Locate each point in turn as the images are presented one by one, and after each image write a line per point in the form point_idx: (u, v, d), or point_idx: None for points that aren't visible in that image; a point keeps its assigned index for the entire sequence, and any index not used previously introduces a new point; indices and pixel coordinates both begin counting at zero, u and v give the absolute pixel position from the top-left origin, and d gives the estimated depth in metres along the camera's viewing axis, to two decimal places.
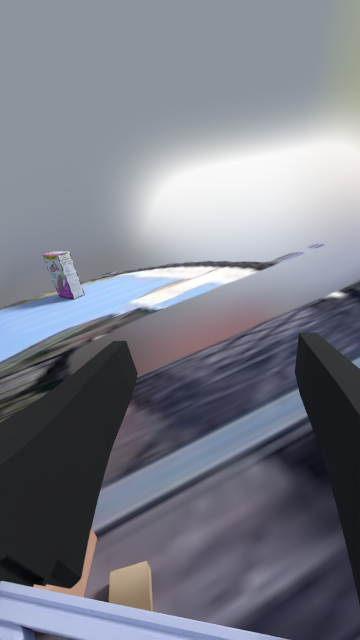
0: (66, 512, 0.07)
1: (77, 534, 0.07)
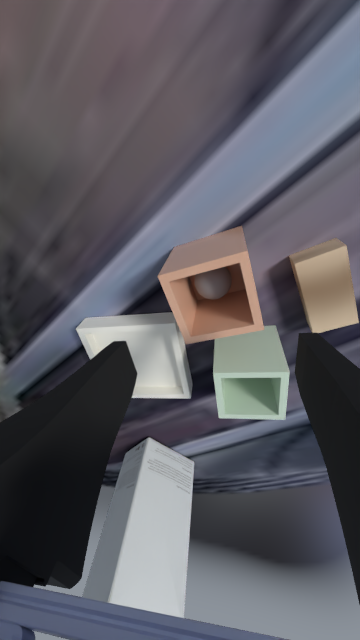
0: (66, 512, 0.07)
1: (77, 534, 0.07)
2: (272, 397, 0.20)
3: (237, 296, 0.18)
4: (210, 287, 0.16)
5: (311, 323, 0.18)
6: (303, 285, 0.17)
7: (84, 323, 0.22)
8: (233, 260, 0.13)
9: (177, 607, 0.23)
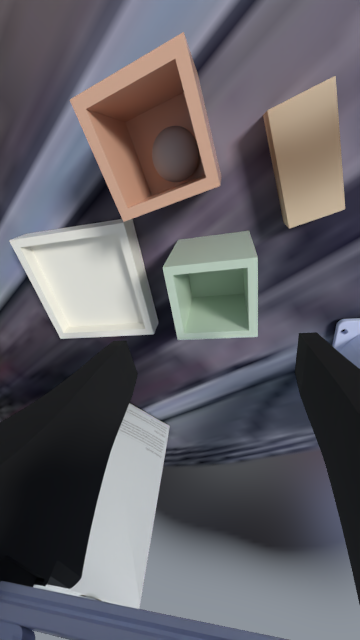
0: (66, 512, 0.07)
1: (77, 534, 0.07)
2: (244, 315, 0.16)
3: (196, 178, 0.14)
4: (182, 156, 0.13)
5: (287, 211, 0.14)
6: (278, 147, 0.13)
7: (21, 236, 0.19)
8: (166, 55, 0.09)
9: (135, 578, 0.19)
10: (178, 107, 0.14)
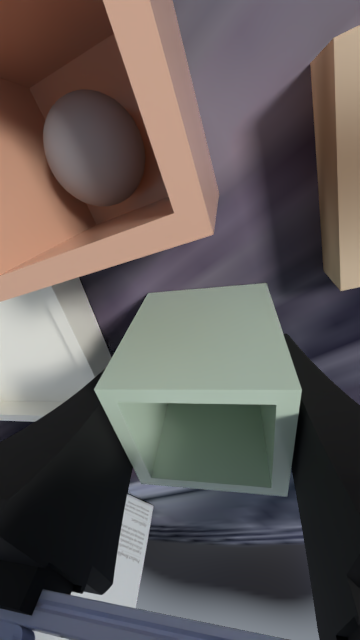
0: (99, 516, 0.07)
1: (109, 539, 0.07)
2: (260, 438, 0.09)
3: None
4: (67, 157, 0.06)
5: (342, 261, 0.07)
6: (345, 132, 0.06)
7: None
8: None
9: None
10: None
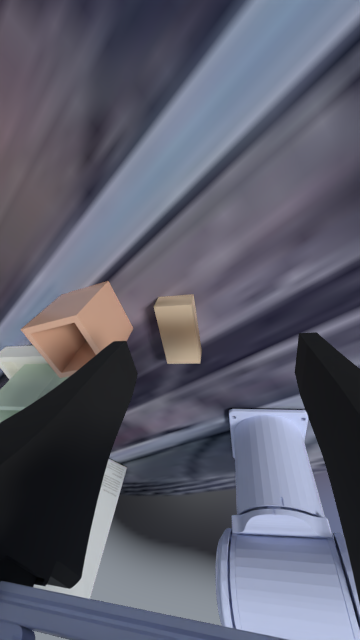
0: (66, 512, 0.07)
1: (77, 534, 0.07)
2: None
3: None
4: None
5: (166, 355, 0.22)
6: (160, 325, 0.20)
7: (2, 352, 0.26)
8: (69, 321, 0.17)
9: (83, 594, 0.27)
10: None
